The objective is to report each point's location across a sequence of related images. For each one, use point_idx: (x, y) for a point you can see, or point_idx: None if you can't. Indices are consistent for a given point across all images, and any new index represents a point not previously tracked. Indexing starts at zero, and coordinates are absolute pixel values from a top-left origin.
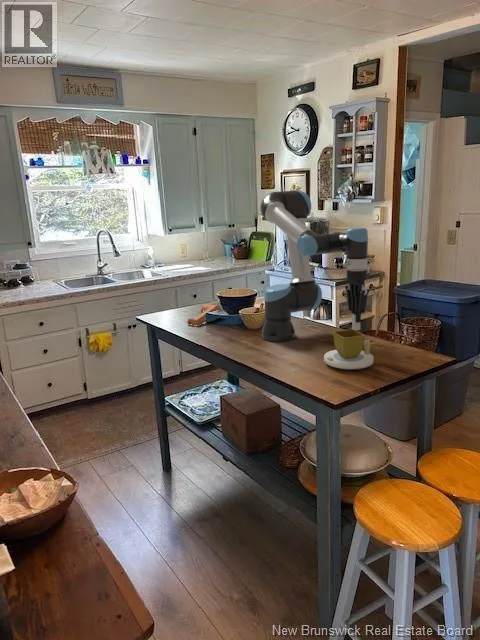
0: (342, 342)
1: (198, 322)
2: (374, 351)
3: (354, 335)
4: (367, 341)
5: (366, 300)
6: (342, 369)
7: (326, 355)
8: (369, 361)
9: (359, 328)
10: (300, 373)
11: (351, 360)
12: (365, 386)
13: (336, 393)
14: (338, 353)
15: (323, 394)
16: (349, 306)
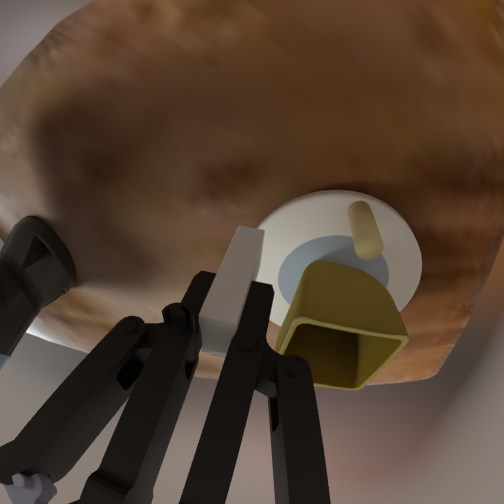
0: (349, 371)
1: None
2: (275, 75)
3: (318, 303)
4: (376, 254)
5: (329, 499)
6: None
7: (276, 318)
8: (419, 267)
9: (262, 242)
10: None
11: None
12: (451, 321)
13: (418, 364)
14: (285, 286)
15: (401, 376)
16: (135, 378)
